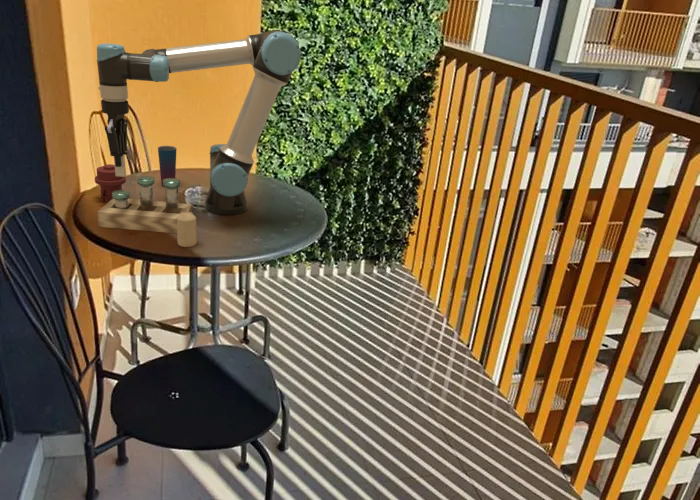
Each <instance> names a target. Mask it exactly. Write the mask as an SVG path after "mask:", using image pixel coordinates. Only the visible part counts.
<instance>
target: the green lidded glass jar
mask: <svg viewBox="0 0 700 500" xmlns="http://www.w3.org/2000/svg"><path fill="white" fill-rule="evenodd" d="M155 181H156V179H155V176H151V175H141V176H140V175H139V176H137V178H136V182H137V185H139V186H138V187H139V200H140V204H141V205H143V206H150V205H153V204H154V202H153V201H154V184H155Z"/></svg>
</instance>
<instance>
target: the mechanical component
mask: <svg viewBox="0 0 700 500" xmlns="http://www.w3.org/2000/svg"><path fill="white" fill-rule="evenodd" d="M126 182H127V178H126V176H125V177H121V176H116V175H115V164H104V165H103V166H102V165H101V166H99V167H97V168H96V176H94V183H95V184H97V185H99V188H100V196H101V197H102V198H103V199H104V201H105V202H106V203H108V202H109V201H111V200H112V199H113V197H112V192H113V191H116V190H123V188H122V187H123V185H124V184H125V183H126Z"/></svg>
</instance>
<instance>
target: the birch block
mask: <svg viewBox="0 0 700 500" xmlns="http://www.w3.org/2000/svg"><path fill="white" fill-rule="evenodd" d="M153 202H154V204H153V205H150V206H143V205H141V204H140V199H136V198H128V204H129V208H128V209H118V208H115V199H114V198H113V199H112V200H111V201H109V202H106V204H105V205H104V206H102V207H101V208H100V209H98V211H97V224H98V227H99V228H107V229H108V228H109V229H121V230H132V231H133V230H135V231H142V232H143V231H144V232H145V231H146V232H158V233H167V234H177V217H178V216H179V215H180V214H181V213H182V212H191V213H192V214H193V215H194V204H193V203H192V204H191V203H181V202H179V206H178V207H176V208H168V207H166V201H161V200H160V201H159V200H153Z"/></svg>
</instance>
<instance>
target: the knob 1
mask: <svg viewBox="0 0 700 500" xmlns="http://www.w3.org/2000/svg"><path fill="white" fill-rule="evenodd" d="M112 197H113V198H114V199H115V208H118V209H128V208H129V204H128V199H131V192H130V191H129V190H125V189H122V190H116V191H113V192H112Z"/></svg>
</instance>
